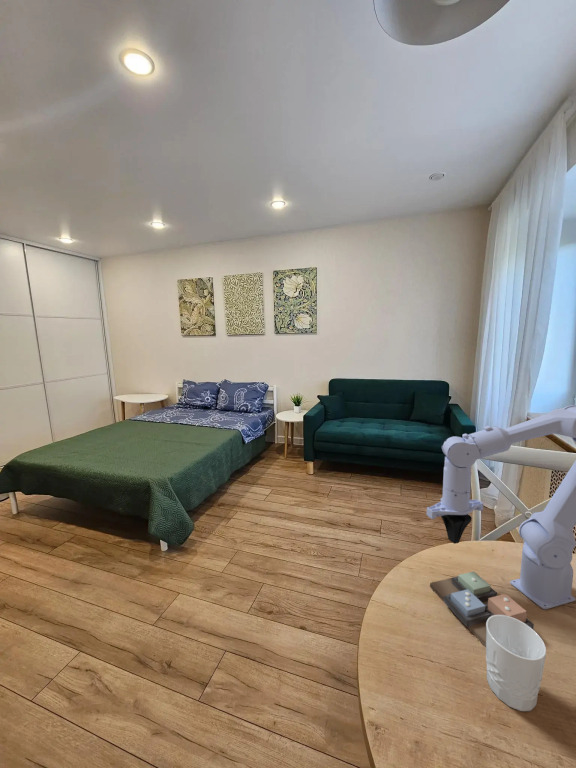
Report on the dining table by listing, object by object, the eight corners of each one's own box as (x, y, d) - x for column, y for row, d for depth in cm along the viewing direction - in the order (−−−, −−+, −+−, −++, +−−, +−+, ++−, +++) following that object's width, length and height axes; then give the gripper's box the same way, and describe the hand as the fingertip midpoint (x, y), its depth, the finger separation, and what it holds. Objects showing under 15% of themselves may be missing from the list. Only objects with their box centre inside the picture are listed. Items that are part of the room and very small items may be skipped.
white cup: (552, 722, 46) (558, 664, 45) (494, 710, 48) (499, 654, 47) (523, 668, 54) (528, 618, 53) (475, 660, 56) (478, 611, 55)
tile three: (467, 599, 68) (467, 588, 67) (484, 616, 63) (485, 605, 63) (450, 603, 67) (450, 592, 66) (466, 621, 62) (467, 609, 62)
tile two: (504, 604, 65) (505, 592, 65) (525, 622, 61) (526, 610, 60) (487, 608, 64) (488, 597, 64) (507, 627, 60) (508, 615, 59)
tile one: (473, 580, 73) (474, 570, 73) (489, 595, 69) (490, 584, 68) (457, 584, 72) (458, 574, 72) (473, 599, 68) (474, 588, 67)
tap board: (468, 577, 75) (469, 568, 75) (539, 641, 59) (540, 630, 59) (426, 587, 73) (427, 578, 72) (489, 657, 56) (490, 645, 56)
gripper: (467, 477, 78) (465, 526, 80) (419, 484, 75) (416, 535, 76) (492, 489, 71) (488, 543, 73) (439, 497, 68) (437, 554, 70)
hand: (453, 540), depth 74 cm, fingers closed
